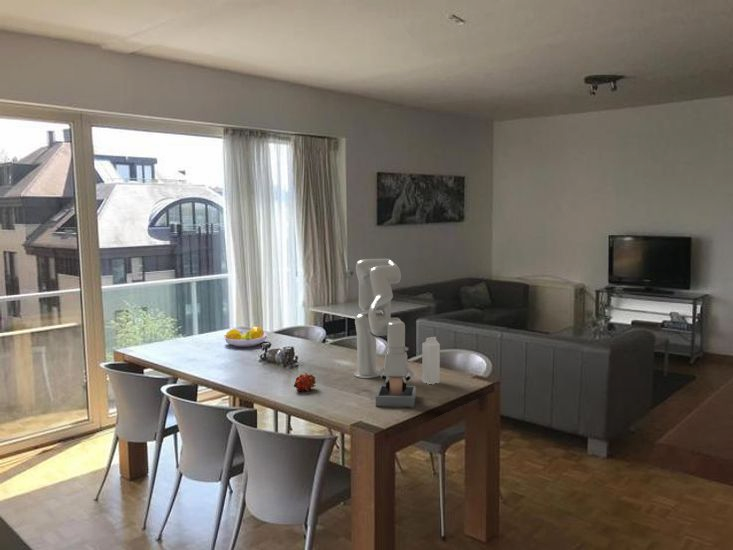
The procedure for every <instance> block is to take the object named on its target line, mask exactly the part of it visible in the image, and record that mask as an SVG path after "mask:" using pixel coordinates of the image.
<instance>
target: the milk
mask: <svg viewBox="0 0 733 550" xmlns="http://www.w3.org/2000/svg"><path fill="white" fill-rule="evenodd" d="M421 346H422V347H421V348H422V349H421V355H422V362H421V363H422V364H421V367H422V368H421V369H422V370H421V372H422V373H421V375H422V377H421V381H422V383H424V384H426V383H427V385H429V384H432V385H436V384H435V383H437V384H440V380H441V379H440V375H441V372H440V371H441V369H440V366H441V361H440V360H441V357H440V356H441V353H440V352H441V351H440V350H441V345H440V343H439V342H438V340H437V336H430V337H426V338H425V341H424V342H422V344H421Z"/></svg>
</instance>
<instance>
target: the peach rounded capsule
mask: <svg viewBox="0 0 733 550" xmlns="http://www.w3.org/2000/svg"><path fill="white" fill-rule="evenodd" d="M389 394H391V395H402V394H403V378H402V377H394V376H390V378H389Z"/></svg>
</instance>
